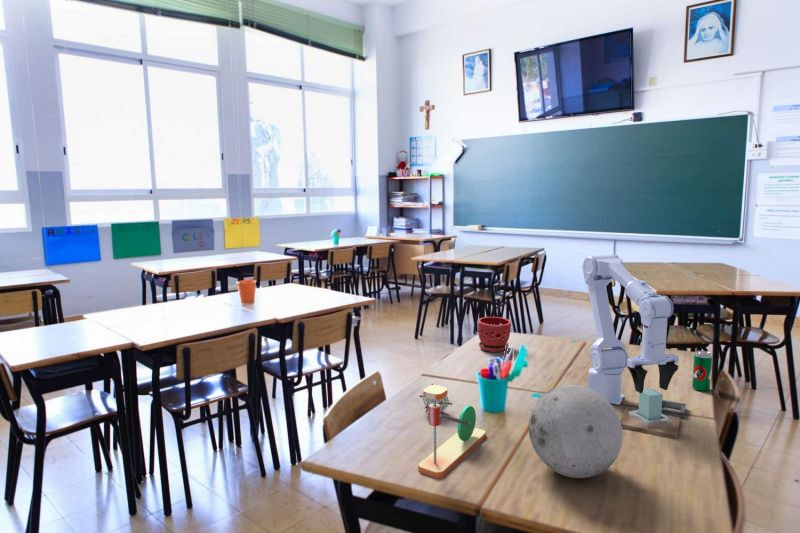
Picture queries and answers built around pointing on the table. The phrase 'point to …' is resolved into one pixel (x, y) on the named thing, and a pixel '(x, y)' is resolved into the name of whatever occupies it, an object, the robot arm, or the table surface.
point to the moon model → (575, 431)
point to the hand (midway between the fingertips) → (651, 390)
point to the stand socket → (673, 412)
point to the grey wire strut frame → (443, 402)
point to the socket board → (654, 430)
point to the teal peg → (650, 404)
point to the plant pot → (493, 333)
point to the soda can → (702, 371)
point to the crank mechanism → (458, 443)
